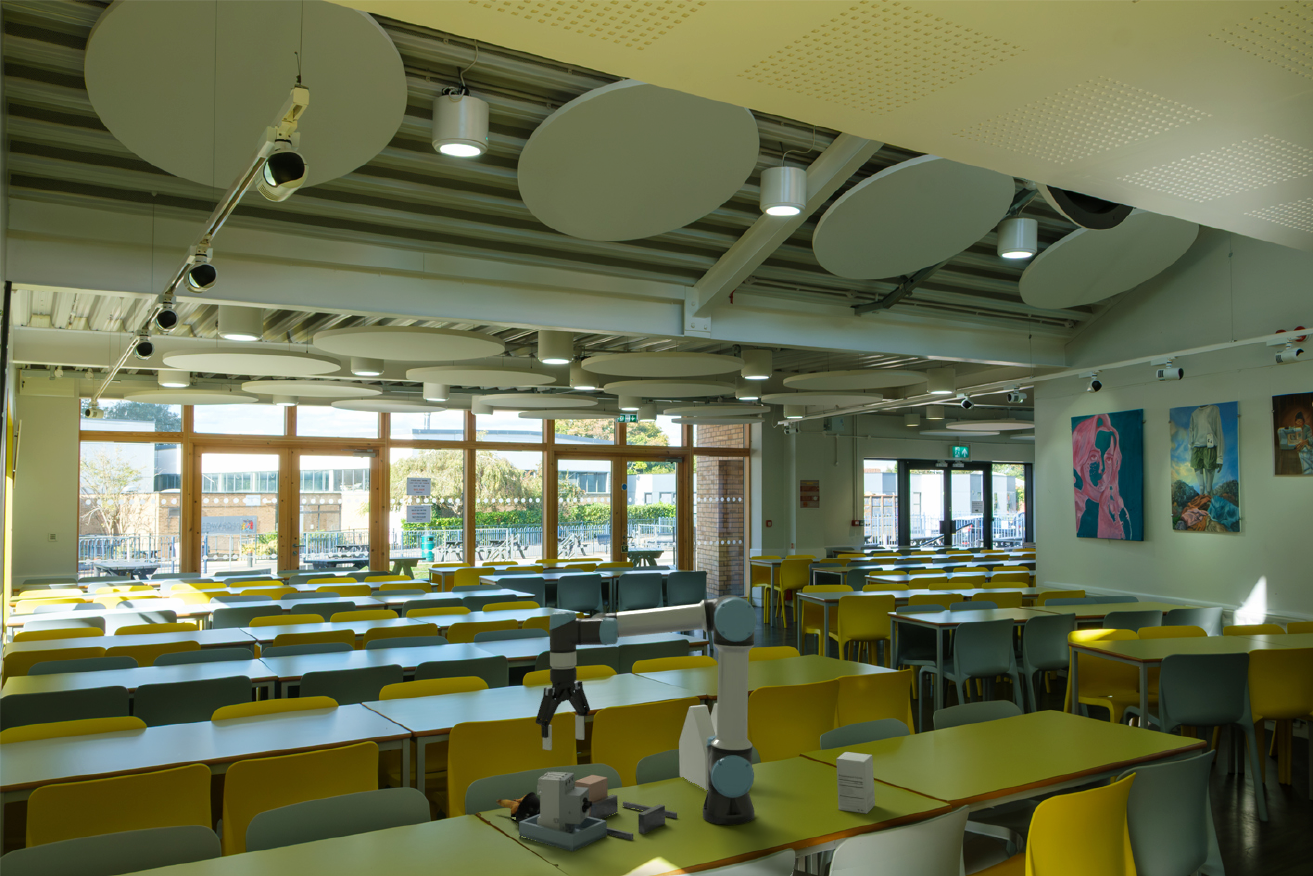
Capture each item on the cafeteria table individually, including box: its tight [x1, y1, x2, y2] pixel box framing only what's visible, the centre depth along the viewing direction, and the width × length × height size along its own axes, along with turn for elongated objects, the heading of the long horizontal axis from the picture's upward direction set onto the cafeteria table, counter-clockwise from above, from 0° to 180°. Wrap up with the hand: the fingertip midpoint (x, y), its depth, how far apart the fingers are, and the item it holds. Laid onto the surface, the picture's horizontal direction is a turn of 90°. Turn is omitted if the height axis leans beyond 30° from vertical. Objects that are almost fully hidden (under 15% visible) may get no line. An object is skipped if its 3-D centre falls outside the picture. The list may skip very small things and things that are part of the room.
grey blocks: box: [591, 794, 678, 841], centre depth 246 cm, size 20×22×5 cm
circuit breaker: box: [536, 771, 592, 833], centre depth 236 cm, size 8×14×15 cm, turn 75°
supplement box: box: [836, 751, 876, 815], centre depth 256 cm, size 9×9×15 cm
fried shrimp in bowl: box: [496, 791, 540, 823], centre depth 250 cm, size 9×11×18 cm
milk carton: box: [678, 702, 717, 791], centre depth 287 cm, size 19×15×25 cm
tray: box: [518, 814, 608, 852], centre depth 235 cm, size 20×14×4 cm
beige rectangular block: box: [574, 774, 609, 817], centre depth 254 cm, size 6×8×10 cm
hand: (564, 744), depth 238 cm, fingers open, 13 cm apart
